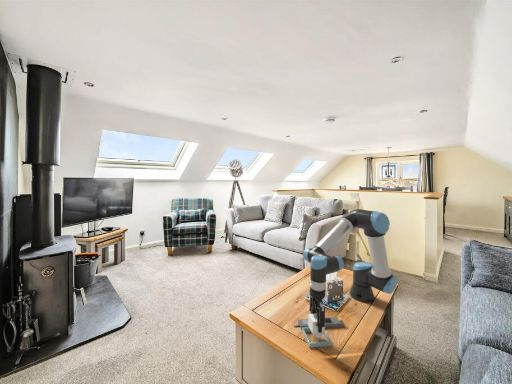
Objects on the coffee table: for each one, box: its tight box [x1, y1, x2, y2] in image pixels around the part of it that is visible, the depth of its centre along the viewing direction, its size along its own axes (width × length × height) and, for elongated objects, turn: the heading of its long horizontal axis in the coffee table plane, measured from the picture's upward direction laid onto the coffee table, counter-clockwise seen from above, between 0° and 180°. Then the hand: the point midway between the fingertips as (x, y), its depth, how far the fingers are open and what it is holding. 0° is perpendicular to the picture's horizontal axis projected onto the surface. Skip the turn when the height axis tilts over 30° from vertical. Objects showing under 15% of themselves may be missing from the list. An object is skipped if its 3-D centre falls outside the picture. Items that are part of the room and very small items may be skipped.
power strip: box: [293, 316, 345, 331], centre depth 121 cm, size 27×5×4 cm, turn 97°
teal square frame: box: [301, 327, 333, 349], centre depth 111 cm, size 11×11×3 cm
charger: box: [307, 313, 326, 337], centre depth 110 cm, size 6×6×8 cm
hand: (316, 332), depth 111 cm, fingers closed on charger, 6 cm apart
